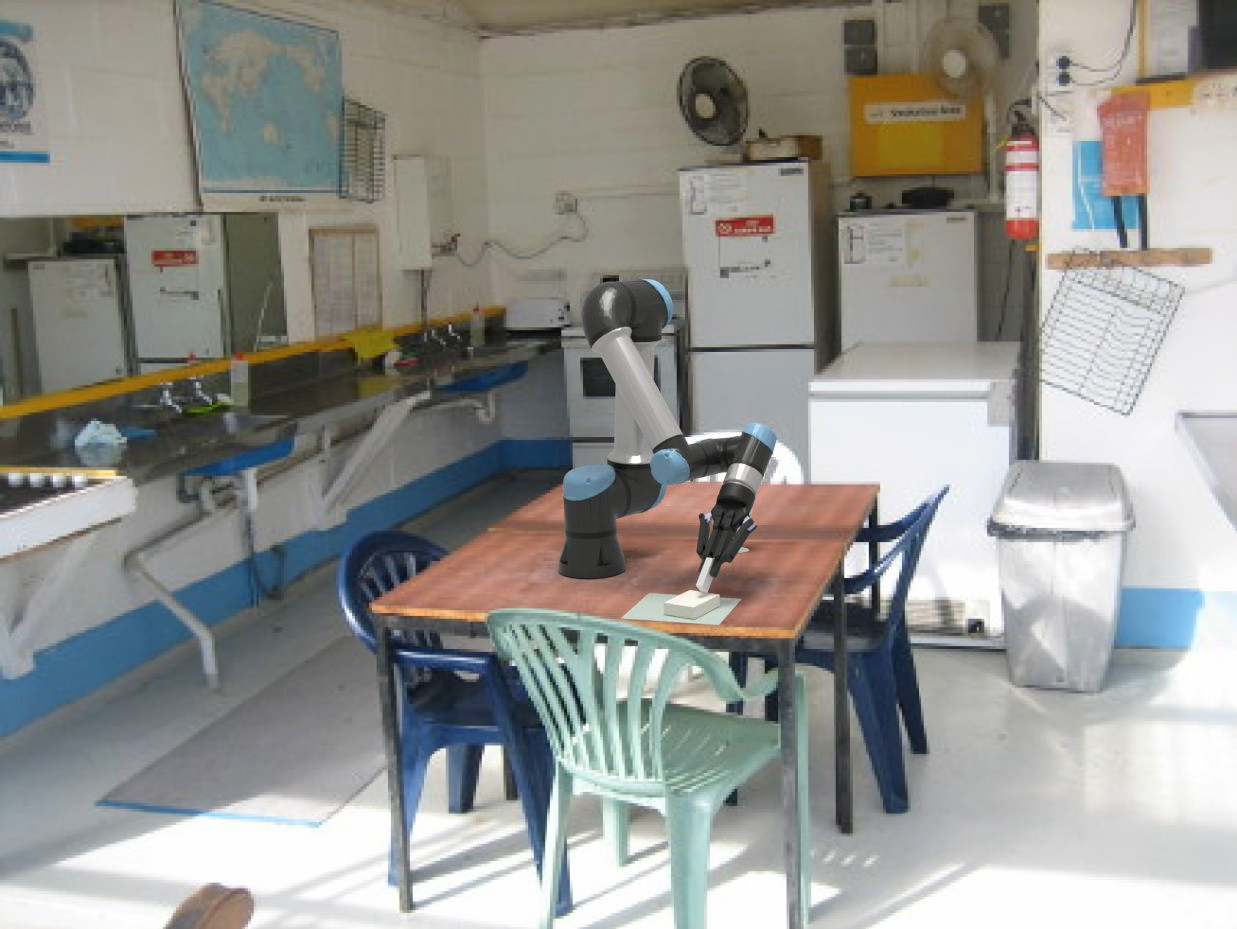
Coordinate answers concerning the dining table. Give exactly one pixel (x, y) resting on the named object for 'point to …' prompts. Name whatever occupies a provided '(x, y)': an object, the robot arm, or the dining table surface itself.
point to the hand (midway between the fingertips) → (701, 589)
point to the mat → (654, 611)
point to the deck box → (691, 604)
